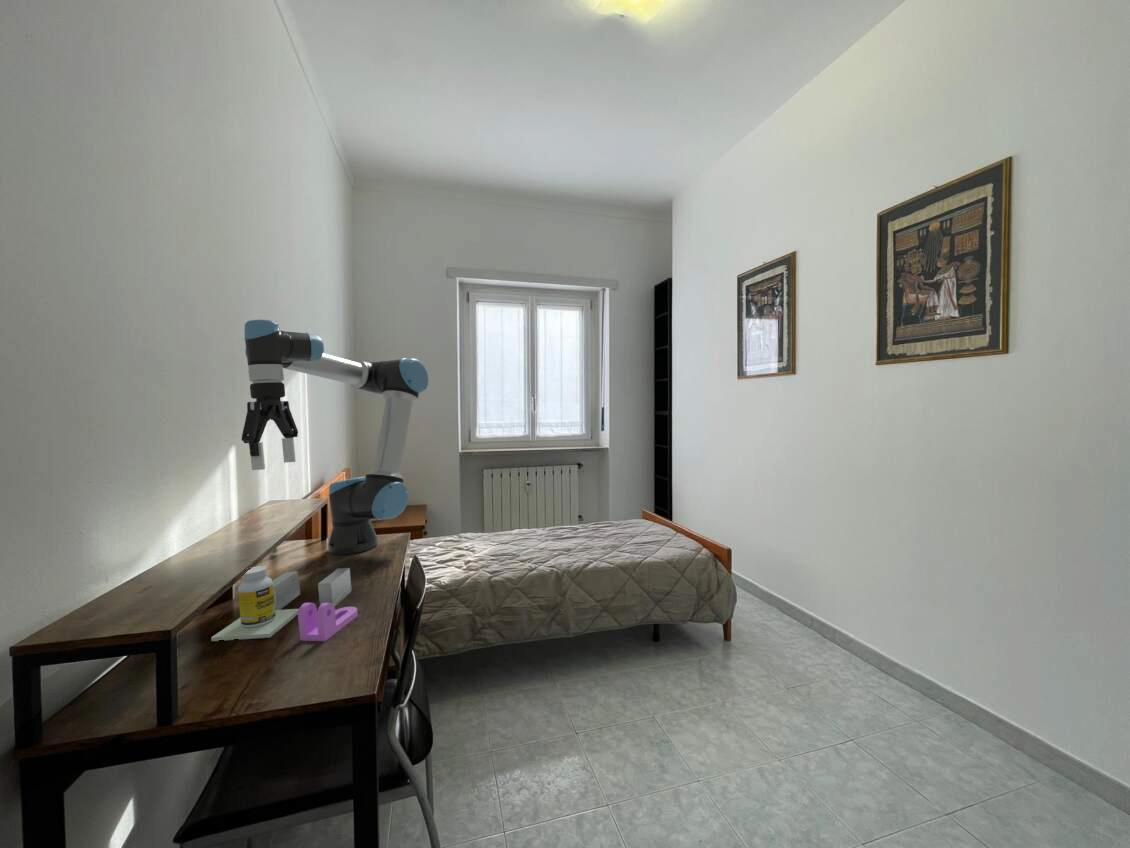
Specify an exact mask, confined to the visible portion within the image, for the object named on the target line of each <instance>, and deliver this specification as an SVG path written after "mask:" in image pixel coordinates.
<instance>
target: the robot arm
mask: <svg viewBox="0 0 1130 848" xmlns="http://www.w3.org/2000/svg"><path fill="white" fill-rule="evenodd" d="M243 339H244V342H245V343H244V344H245V351H244V353H245V356H246V360H247V367H248V368H247V369H248V378H249V380H248V381H250V382H251V383H250V385H249V390H250V391H249V392H250V398H251V399H255V401H247V403H246V406H247V407H246V409H247V412H246V415H245V420H244V425H243V429H242V435H241V441H242V442H243V443H244V444H248V445H249V446H248V447H249V455H250V465H251V471H259V470H261V471H263V470H266V463H265V455H264V454H265V453H264V446H263V443H264V442H262V441H261V440H262V439H261V438H262V436H263V434H264V431H265V429H266V426H267V424H268V422H269V421H270V420H271V421H273V422H274V424H275V425H276V426H277V428H278V430H279V432H280V433H281V435H282V436H283V438H281V445H282V454H283V455H282V457H283V463H295V462H297V461H296V452H295V441H294V438H298V437H299V430H298V428H297V426H296V425H297V424H296V422H295V420H294V417H293V414H292V411H291V409H290V403H289V400H281V398H284V397H286V387H285V383H284V382H283V381H284V380H285V377H284V376H285V375H284V369H286V370H290V371H293V372H294V371H295V372H297V373H303V374H307V375H311V376H314V377H319V378H324V379H328V380H333V381H336V382H342V383H346V384H349V386H350V387H352V388H353V389H357V390H362V391H366V392H370V393H374V394H378V395H382V396H383V398H384V399H385V401H384V402H385V403H384V407H383V413H382V419H381V424H380V427H379V428H380V429H379V431H378V432H379V434H378V439H377V443H376V449H375V454H374V459H373V464H372V469H371V470H370V471H368V472H367V473H366V474H365V476H358V477H352V478H348V479H341V480H338V481H334V482H331V483H330V484H329V488H328V492H329V493H328V498H329V506H330V516H331V525H332V526H331V527H332V528H331V531H330V537H329V540H328V543H327V544H328V545H327V551H328V553H329V554H332V555H335V556H336V555H338V556H339V555H352V554H357V553H361V552H366V551H368V550H371V549H373V548H375V547H376V546H378V544H379V541H378V540H379V539H378V535H377V534H376V533H377V532H376V531H375V529H374V527H373V525H372V522H371V519H376V520H382V521H383V520H391V519H395V518H398V517H399V516H400V515H401V514H402V513H403V512H404V510H405V509H406V507H407V505H408V502H409V491H408V489H407V486H406V485H405V484H404V477H403V476H402V475H401V469H402V463H403V457H404V453H405V446H406V441H407V435H408V432H409V431H408V430H409V423H410V419H411V414H412V413H411V412H412V408H413V404H415V403H417V402H418V400H419V395H420V394H419V393H422V392H424V391H425V390H427V388H428V385H429V374H428V371H427V369H426V367H425V365H424V364H423V363H422V361H420V360H418V359H417V358H410V357H409V358H407V357H404V358H401V359H391V360H382V361H364V360H360V359H359V360H358V359H357V360H356V361H354V360H350V359H346V358H344V357H343V358H342V357H339V356H336V355H331V354H329V353H324V351H325V347H324V344H325V343H324V342H323V340H322V338H321V337H320V336H319V335H316V334H313V333H309V332H295V331H284V330H281V329H280V325H279V323H278V322H277V321H275V320H270V319H252V320H248V321H246V322H245V323H244V338H243ZM365 550H366V551H365Z"/></svg>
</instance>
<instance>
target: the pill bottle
mask: <svg viewBox="0 0 1130 848" xmlns="http://www.w3.org/2000/svg"><path fill="white" fill-rule="evenodd" d="M250 568H251V567H250ZM267 574H268V569H267V566H265V565H258V566H253V567H252V568H251V569H250V570H248V571H247V572H246V573H245V574H244V575H243V576H241V579H242V580H243V581H242V582H241V583H239V585H238V586H237V596H238V597H237V598H238V607H239V618H240V619H241V625H242V626H244V627H257V626H261V625H264V624H266V623H268V622H270V621H272V620H273V619H274V618H275V615H276V613H275V601H274V590H273V579H272V578H270V577H269V576H267Z"/></svg>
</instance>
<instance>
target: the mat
mask: <svg viewBox="0 0 1130 848" xmlns="http://www.w3.org/2000/svg"><path fill="white" fill-rule="evenodd" d="M299 609H300V608H290V609H289V608H288V609H287V608H286V609H280V610H275V613H276V615H275V618H274V619H273V620H272V621H270V622H268V623H266V624H264V625H261V626H257V627H244V626H242V625H241V619H240V617H238V618H237V619H236V620H234V621H233V622H232V623H230V624H229V625H227V626H226V627H224V628H223V629H222V630H220V631H219V632H217V633H216V634H214V635H213V636H211V639H210V640H211V642H220V641H219V640H224V641H235V640H234V639H239V640H250V639H251V640H252V639H266V638H268V639H269V638H271V637H272V636H274V635H275V634H276V633H277V632H279V631H280V630H281V629H282V628H284V626H286V625H287V624H288V623H289V622H291V621H292V620H293V619H294V618H295V617H296V616H297V617H298V612H299Z"/></svg>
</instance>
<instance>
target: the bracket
mask: <svg viewBox="0 0 1130 848" xmlns="http://www.w3.org/2000/svg"><path fill="white" fill-rule="evenodd" d="M298 609H299V612H298V615H297V619H298V629H299V639H300V641H306V642H307V641H309V642H310V641H311V642H326V641H327V640H329V639H330V638H331V637H333V636H334V635H335V634H337V633H338V632H339V631H340V630H342V629H343V628H344V627H346V626H347V625H348V624H349V623H351V622H352V621H354V620H355V619H356V618H357V617H358V608H357V607H355V606H346V607H340V608H337V609H336V606H335V607H334V605H333V604H332V603H322V604H321V605H320V604H319V606H318V608H317V605H316V604H315V603H314V602H304V603H302V604H301V605H300V607H299V608H298Z"/></svg>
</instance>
